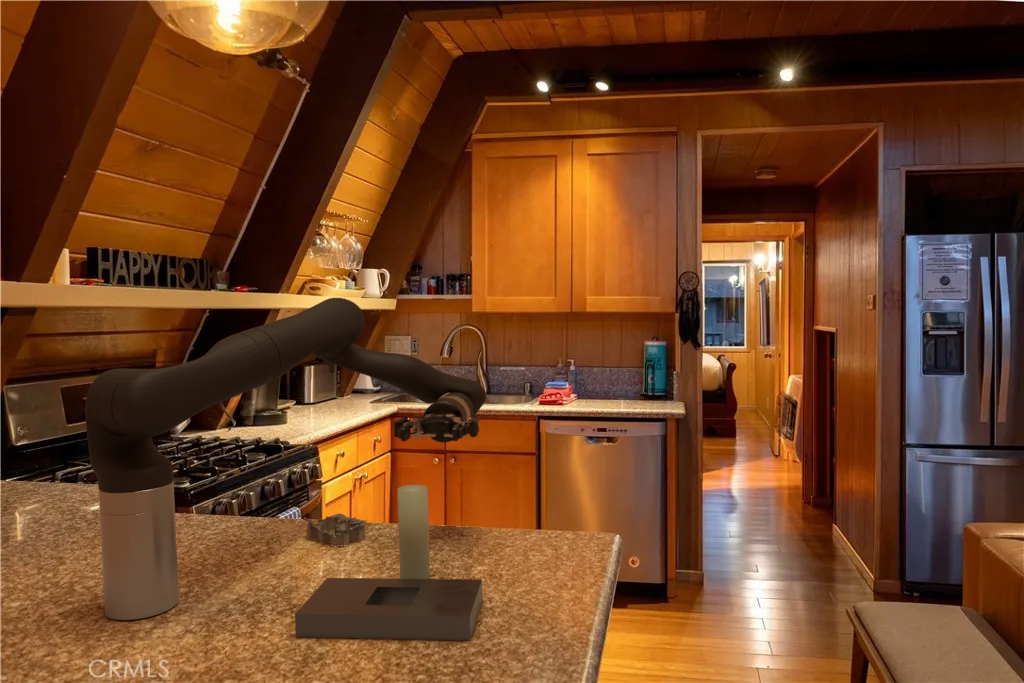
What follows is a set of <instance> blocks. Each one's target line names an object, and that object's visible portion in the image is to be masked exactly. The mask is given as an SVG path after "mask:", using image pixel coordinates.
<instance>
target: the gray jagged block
mask: <svg viewBox="0 0 1024 683" xmlns="http://www.w3.org/2000/svg"><path fill="white" fill-rule="evenodd" d="M302 521H305V522H306V523H307V522H308V524H307V527H306V539H307V540H308V541H314V540H315V539H319V540H318V543H319V542H321V543H320V544H323V543H324V544H326V543H325V542H332V543H330V544H331V545H333V546H338V545H343V546H344V545H348V544H349V545H350V543H351V542H350V541H352V542H362V541H364V540H365V534H366V533H365V523H366V522H367V521H368V519H366V520H363V519H359V518H357V517H351V516H346V515H345V514H343V513H336V514H333V515H330V516H325V518H321V517H320V518H318V520H317V523H315V522H313V519H312V518H310V519H309V518H308V517H306V516H303V518H302ZM333 531H334V532H333ZM355 540H356V541H355ZM361 540H362V541H361ZM315 541H316V540H315ZM349 545H348V546H349ZM343 546H342V547H343Z"/></svg>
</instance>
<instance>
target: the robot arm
mask: <svg viewBox="0 0 1024 683" xmlns="http://www.w3.org/2000/svg"><path fill="white" fill-rule="evenodd" d="M365 321H366V318H365V314H364V312H363V310H362V308H361V307H360V306H359V305H357V304H356V303H355V302H353V301H352V300H350V299H346V298H345V297H344V298H343V297H330V298H327V299H324V300H322V301H321V302H318V303H317V304H315V305H313V306H311V307H309V308H307V309H305V310H303V311H300V312H298V313H296V314H293V315H290V316H287V317H283V318H280V319H277V320H274V321H271V322H268V323H265V324H262V325H259V326H256V327H252V328H249V329H245V330H242V331H240V332H237V333H234V334H232V335H229V336H227V337H225V338H223V339H221V340H219V341H217V342H216V343H215V344H214V345H213V346H212V347H211V348H210V349H209V350H208V351H207V352H206V353H204V355H202V356H201V357H199V358H196V359H193V360H191V361H188V362H184V363H181V364H175V365H172V366H167V367H163V368H162V367H160V368H153V369H152V368H149V369H148V368H113V369H108V370H106V371H104V372H102V373H100V374H99V375H97V377H96V378H94V379H93V381H92V383H91V384H90V385H89V388H88V391H87V392H86V393H87V394H86V398H85V410H84V411H85V426H86V427H85V428H86V435H87V445H88V454H89V461H90V465H91V469H92V470H93V472H94V474H95V476H96V478H97V487H98V505H99V519H100V520H99V521H100V539H101V540H100V541H101V542H100V543H101V560H102V561H101V562H102V564H101V565H102V579H103V580H102V581H103V601H104V605H103V606H104V615H105V617H106V618H108V619H111V620H115V621H116V620H117V621H132V620H139V619H145V618H149V617H153V616H156V615H159V614H163V613H164V612H167V611H169V610H171V609H172V608H174V607H176V606H177V605H178V603H179V602H180V601H179V600H180V594H179V593H180V591H179V574H178V573H179V572H178V570H179V568H178V544H177V530H176V529H177V528H176V527H177V526H176V524H177V523H176V510H175V509H176V506H175V505H176V504H175V487H174V486H175V484H174V467H173V463H172V461H171V460H170V459H169V458H168V457H166V456H165V455H164V454H163V453H161V452H160V450H158V448H157V446H155V444H154V441H153V437H155V436H159V435H161V434H164V433H166V432H168V431H170V430H172V429H174V428H175V427H178V426H179V425H181V424H183V423H184V422H186V421H187V420H189V419H191V418H193V417H194V416H196V415H197V414H200V413H201V412H203V411H205V410H206V409H208V408H210V407H212V406H214V405H216V404H219V403H221V402H224V401H227V400H229V399H232V398H235V397H238V396H239V395H241V394H243V393H246V392H249V391H252V390H254V389H257V388H260V387H261V386H265V385H266V384H269V383H270V382H273V381H274V380H277V379H279V378H280V377H282V376H283V375H285V374H287V373H288V372H289V371H291V370H292V369H293V368H295V367H296V366H298V365H300V364H301V363H302V362H303V361H304V360H306V359H307V358H308V357H310V356H311V355H313V356H314V357H316V358H318V359H320V360H322V361H324V362H328V363H330V364H333V365H336V366H338V367H341V368H344V369H348V370H350V371H353V372H355V373H358V374H361V375H363V376H364V375H365V376H367V377H370V378H373V379H376V380H378V381H381V382H384V383H385V384H388V385H390V386H393V387H395V388H397V389H399V390H401V391H403V392H404V393H406V394H408V395H409V396H412V397H414V398H415V399H417V400H419V401H421V402H423V403H425V404H430V405H429V406H428V407H427V408H426V409H425V411H424V413H423V415H422V416H418V417H414V418H412V420H411V418H410V417H409V416H404V417H401V418H400V419H398V420H396V421H394V422H393V435H394V437H395V438H398V439H399V440H400V441H401V442H407V441H408V440H410V438H416V439H422V438H428V437H429V438H430V439H431V440H433V441H435V442H438V443H450V442H458V441H459V440H461V439H464V438H466V437H467V435H469V437H471V438H475V437H478V434H479V432H480V417H479V416H477V414H478V412H479V411H480V409H481V408H482V407H483V405H484V404H485V403H486V401H487V392H486V390H485V388H484V387H483V385H481V384H480V383H479V382H477V381H475V380H473V379H470V378H467V377H463V376H457V375H454V374H453V375H452V374H449V373H445V372H444V371H441V370H438V369H437V368H435V367H433V366H432V365H430V364H428V363H426V362H425V361H422V360H421V359H419V358H417V357H415V356H411V355H408V354H402V353H394V352H386V351H378V350H373V349H367V348H365V347H362V346H359V345H357V344H355V342H356V341H357V340H358V339H359V338H360V336H361V335H362V333H363V331H364V328H365V324H366V322H365ZM447 393H448V394H447ZM444 395H445V396H444ZM411 429H412V432H411Z"/></svg>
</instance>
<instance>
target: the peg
mask: <svg viewBox="0 0 1024 683" xmlns="http://www.w3.org/2000/svg"><path fill="white" fill-rule="evenodd" d="M428 492H429V491H428V486H426V485H423V484H408V485H402V486H399V487H398V488H397V516H398V545H399V546H398V547H399V550H398V551H399V554H398V555H399V579H431V570H430V569H431V568H430V539H429V538H430V536H429V535H430V532H429V531H430V530H429V529H430V528H429V499H428V497H429V494H428Z"/></svg>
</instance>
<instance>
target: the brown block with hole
mask: <svg viewBox="0 0 1024 683" xmlns="http://www.w3.org/2000/svg"><path fill="white" fill-rule="evenodd" d="M483 601H484V600H483V579H472V578H471V579H470V578H469V579H468V578H467V579H465V578H464V579H463V578H460V579H459V578H458V579H456V578H454V579H453V578H452V579H451V578H449V579H448V578H447V579H445V578H430V579H400V578H372V577H370V578H369V577H368V578H367V577H366V578H365V577H364V578H363V577H362V578H361V577H326V579H325V580H324V581H323V582H322V583H321V584H319V587H317V589H316V590H315V591H313V593H312V594H311V596H309V598H308V599H307V600H306V601H304V603H303V604H302V605H301V607H300V608H299V609H298V610H297V611H296V612H295V613H294V622H295V623H294V626H295V630H294V631H295V638H298V639H299V638H301V639H303V638H304V639H305V638H306V639H307V638H308V639H352V638H357V640H360V639H361V640H362V639H363V640H364V639H365V640H405V641H406V640H413V641H414V640H415V641H416V640H417V641H418V640H419V641H420V640H421V641H462V642H463V641H466V642H467V641H471V640H472V636H473V634H474V629H475V627H476V625H477V624H476V623H477V620H478V618H479V613H480V610H481V607H482V604H483Z"/></svg>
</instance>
